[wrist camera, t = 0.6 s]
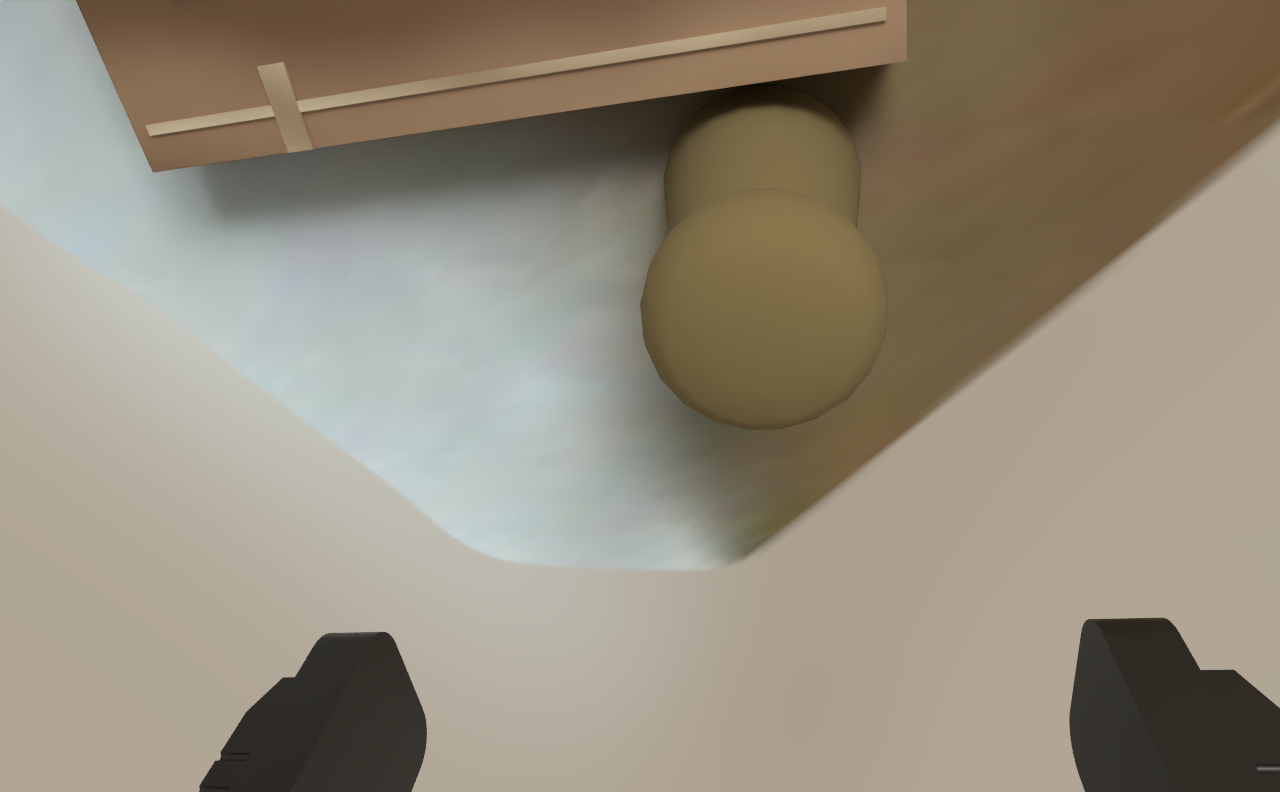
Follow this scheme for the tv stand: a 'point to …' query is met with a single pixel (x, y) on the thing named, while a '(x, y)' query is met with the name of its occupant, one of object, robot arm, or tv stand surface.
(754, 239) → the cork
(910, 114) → the tv stand surface
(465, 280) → the tv stand surface
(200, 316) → the tv stand surface
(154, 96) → the walnut board
